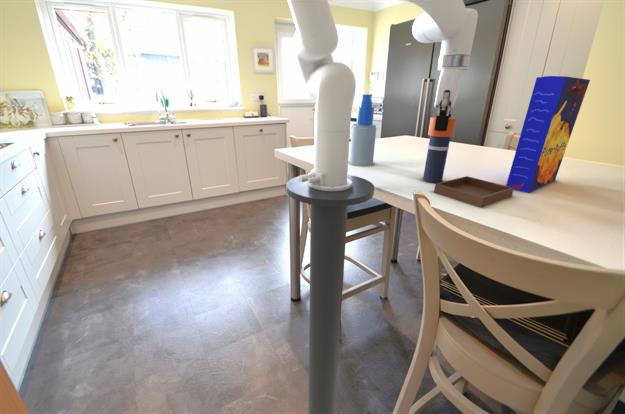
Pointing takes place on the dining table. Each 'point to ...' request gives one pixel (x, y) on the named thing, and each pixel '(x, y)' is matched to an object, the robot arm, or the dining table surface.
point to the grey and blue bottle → (363, 134)
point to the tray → (473, 191)
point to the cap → (447, 133)
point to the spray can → (436, 159)
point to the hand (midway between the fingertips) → (441, 128)
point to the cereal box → (546, 131)
